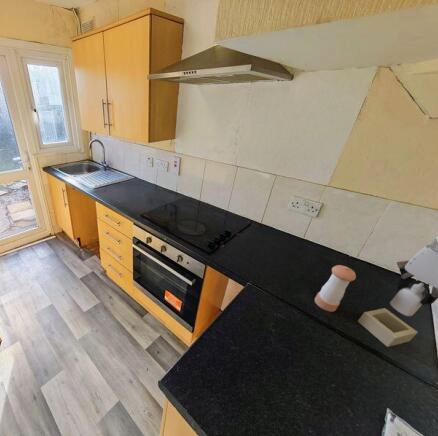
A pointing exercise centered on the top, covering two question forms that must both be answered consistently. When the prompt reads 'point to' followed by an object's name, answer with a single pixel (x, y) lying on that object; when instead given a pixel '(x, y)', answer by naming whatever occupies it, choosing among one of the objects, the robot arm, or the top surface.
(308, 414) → the top surface
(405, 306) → the eye dropper bottle
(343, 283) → the salt shaker
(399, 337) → the socket block
